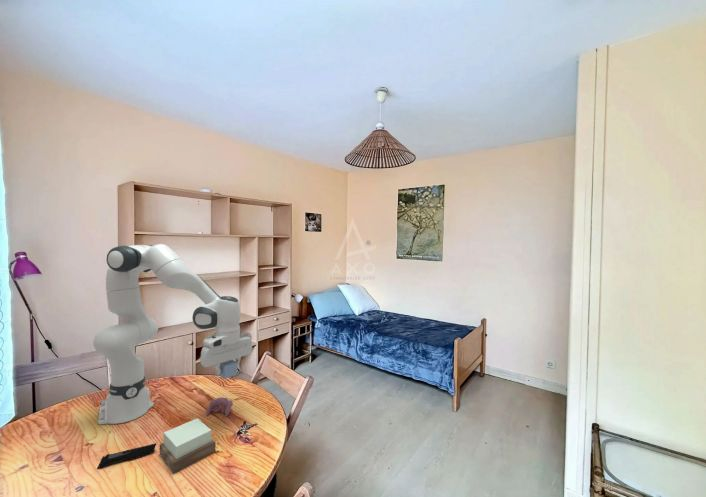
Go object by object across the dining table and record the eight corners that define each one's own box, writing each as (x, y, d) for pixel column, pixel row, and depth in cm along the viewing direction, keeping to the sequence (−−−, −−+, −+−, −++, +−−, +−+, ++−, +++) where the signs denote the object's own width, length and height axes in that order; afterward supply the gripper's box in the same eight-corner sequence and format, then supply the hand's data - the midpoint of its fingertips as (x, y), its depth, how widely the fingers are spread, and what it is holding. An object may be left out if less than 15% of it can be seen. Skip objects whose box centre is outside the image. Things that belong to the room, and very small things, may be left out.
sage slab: (163, 444, 99) (163, 432, 99) (197, 428, 108) (197, 418, 108) (176, 459, 92) (176, 446, 92) (211, 441, 101) (211, 430, 101)
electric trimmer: (155, 455, 99) (155, 446, 99) (96, 470, 92) (96, 460, 92) (156, 449, 102) (157, 440, 102) (100, 463, 95) (100, 453, 95)
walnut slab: (159, 456, 99) (159, 444, 99) (199, 437, 109) (199, 426, 109) (173, 475, 91) (173, 463, 91) (215, 453, 100) (215, 442, 100)
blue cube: (218, 375, 117) (218, 362, 117) (230, 371, 121) (230, 359, 121) (224, 378, 114) (224, 366, 114) (236, 374, 118) (236, 362, 118)
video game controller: (231, 416, 124) (235, 398, 128) (226, 417, 120) (230, 398, 123) (209, 415, 125) (213, 396, 128) (203, 415, 121) (208, 396, 124)
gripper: (247, 330, 127) (247, 361, 127) (198, 341, 112) (198, 376, 112) (255, 332, 123) (255, 365, 123) (206, 344, 107) (205, 381, 108)
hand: (227, 370), depth 117 cm, fingers closed on blue cube, 5 cm apart
